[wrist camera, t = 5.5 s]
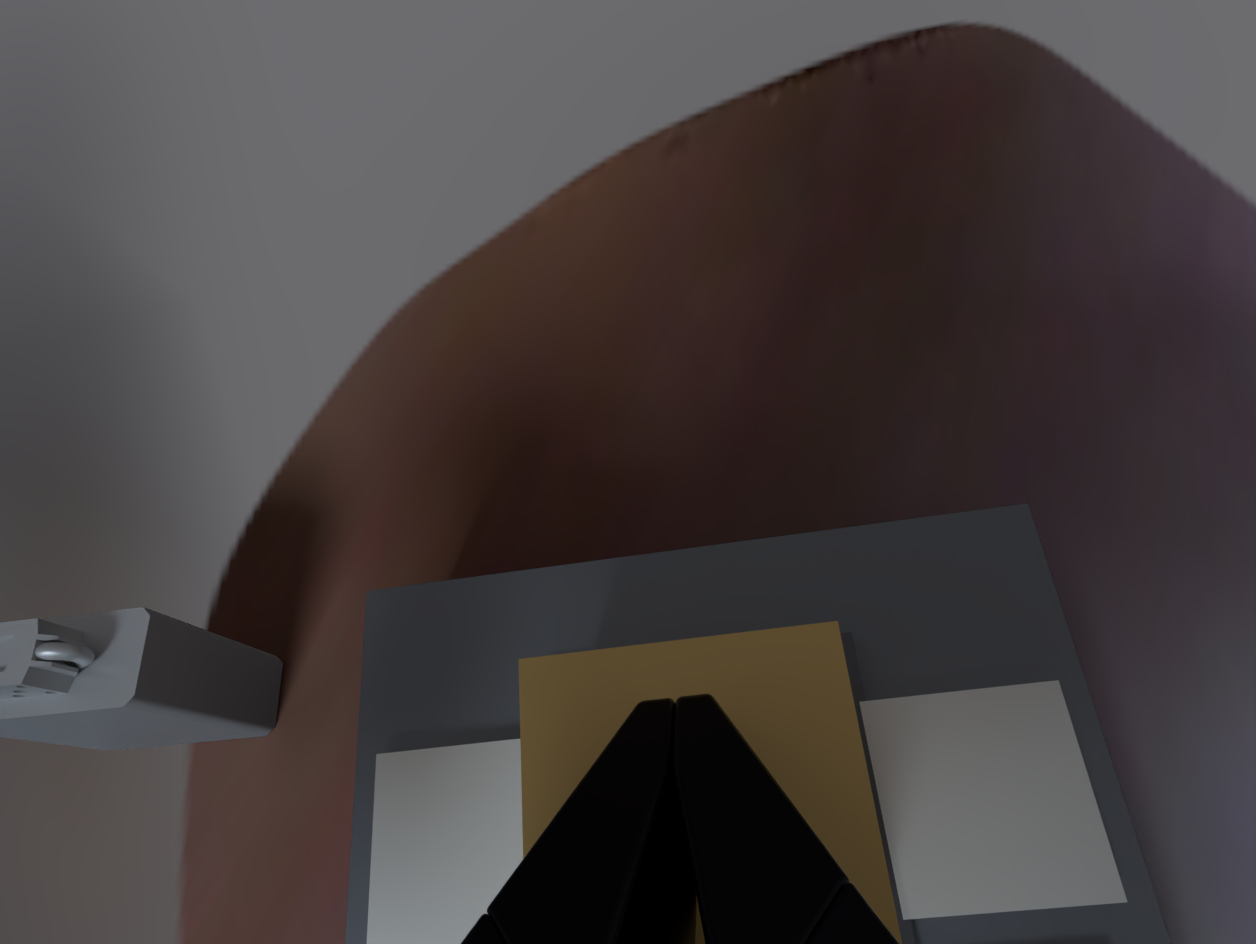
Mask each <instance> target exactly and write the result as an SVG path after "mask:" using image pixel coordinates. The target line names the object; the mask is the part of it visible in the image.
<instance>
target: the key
mask: <svg viewBox="0 0 1256 944" xmlns="http://www.w3.org/2000/svg"><path fill="white" fill-rule="evenodd" d="M698 694H710V695H712V696H713V697H714V698H715V700H716V701H717V702H718V704H719V705H720V706H721V708H722V709H723V710H724V712H725V713H726V714H727V716H728V717H729V718H730V720H731V721H732V722H733V724H734V725H735V726H736V728H737V729H738V730H739V732H740V733H741V734H742V736H743V737H744V738H745V740H746V741H747V742H748V744H749V745H750V747H751V748H752V749H753V751H754V752H755V753H756V755H757V756H758V757H759V759H760V760H761V761H762V763H763V764H764V765H765V767H766V768H767V769H768V771H769V772H770V773H771V775H772V776H773V777H774V779H775V780H776V781H777V783H778V784H779V785H780V787H781V788H782V789H783V791H784V792H785V793H786V795H787V796H788V797H789V799H790V800H791V802H792V803H793V804H794V806H795V807H796V808H797V810H798V811H799V812H800V814H801V815H802V816H803V818H804V819H805V820H806V822H807V823H808V824H809V826H810V827H811V828H812V830H813V831H814V832H815V834H816V835H817V836H818V838H819V839H820V840H821V842H822V843H823V844H824V846H825V847H826V848H827V850H828V851H829V853H830V854H831V855H832V857H833V858H834V859H835V861H836V862H837V863H838V865H839V866H840V867H841V869H842V870H843V871H844V873H845V874H846V875H847V877H848V878H849V881H850V883H852V884H853V885H855V887H856V888H857V889H858V891H859V892H860V893H861V895H862V896H863V897H864V899H865V900H866V902H867V903H868V904H869V906H870V907H871V908H872V910H873V911H874V912H875V914H876V915H877V916H878V917H879V918H880V920H881V921H882V922H883V923H884V925H885V926H886V927H887V928H888V930H889V931H890V932H891V933H892V935H893V936H894V937H895V938H896V940H897V941H898V942H899V943H900V944H902V940H901V935H900V930H899V925H898V920H897V915H896V910H895V905H894V900H893V895H892V890H891V885H890V880H889V875H888V870H887V865H886V860H885V855H884V850H883V845H882V840H881V835H880V830H879V825H878V820H877V815H876V810H875V805H874V800H873V795H872V790H871V785H870V780H869V775H868V770H867V765H866V760H865V755H864V750H863V745H862V740H861V735H860V730H859V725H858V720H857V714H856V709H855V704H854V699H853V694H852V689H851V684H850V679H849V674H848V669H847V664H846V659H845V654H844V649H843V644H842V639H841V634H840V629H839V624H838V621H832V622H823V623H815V624H807V625H798V626H790V627H782V628H773V629H765V630H756V631H748V632H740V633H731V634H723V635H715V636H706V637H698V638H690V639H681V640H673V641H665V642H656V643H648V644H640V645H631V646H623V647H615V648H606V649H598V650H590V651H581V652H573V653H565V654H556V655H548V656H540V657H531V658H523V659H519V700H520V744H521V788H522V832H523V859H524V857H525V856H526V855H527V853H528V852H529V851H530V849H531V848H532V846H533V845H534V844H535V842H536V841H537V840H538V838H539V837H540V836H541V834H542V833H543V832H544V830H545V829H546V827H547V826H548V825H549V823H550V822H551V821H552V819H553V818H554V817H555V815H556V814H557V812H558V811H559V810H560V808H561V807H562V806H563V804H564V803H565V802H566V800H567V799H568V798H569V796H570V795H571V793H572V792H573V791H574V789H575V788H576V787H577V785H578V784H579V783H580V781H581V780H582V778H583V777H584V776H585V774H586V773H587V772H588V770H589V769H590V768H591V766H592V765H593V763H594V762H595V761H596V759H597V758H598V757H599V755H600V754H601V753H602V751H603V750H604V749H605V747H606V746H607V744H608V743H609V742H610V740H611V739H612V738H613V736H614V735H615V734H616V732H617V731H618V729H619V728H620V727H621V725H622V724H623V723H624V721H625V720H626V719H627V717H628V716H629V714H630V713H631V712H632V710H633V709H634V708H635V706H636V705H637V704H638V703H639V702H641V701H645V700H654V699H663V698H671V699H673V700H674V701H675V703H676V700H677V699H678V698H679V697H681V696H689V695H698ZM696 903H697V904H696V937H695V944H705V939H704V933H703V928H702V923H701V918H700V913H699V907H698V902H697V897H696Z"/></svg>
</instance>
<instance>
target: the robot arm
mask: <svg viewBox="0 0 1256 944" xmlns="http://www.w3.org/2000/svg"><path fill="white" fill-rule="evenodd" d="M696 897H697V902H698V907H699V913H700V918H701V923H702V928H703V933H704V939H705V944H900V943H899V942H898V941H897V940H896V938H895V937H894V936H893V935H892V933H891V932H890V931H889V930H888V928H887V927H886V926H885V925H884V923H883V922H882V921H881V920H880V918H879V917H878V916H877V915H876V914H875V912H874V911H873V910H872V908H871V907H870V906H869V904H868V903H867V902H866V900H865V899H864V897H863V896H862V895H861V893H860V892H859V891H858V889H857V888H856V887H855V885H853V884H852V883H850V881H849V878H848V877H847V875H846V874H845V873H844V871H843V870H842V869H841V867H840V866H839V865H838V863H837V862H836V861H835V859H834V858H833V857H832V855H831V854H830V853H829V851H828V850H827V848H826V847H825V846H824V844H823V843H822V842H821V840H820V839H819V838H818V836H817V835H816V834H815V832H814V831H813V830H812V828H811V827H810V826H809V824H808V823H807V822H806V820H805V819H804V818H803V816H802V815H801V814H800V812H799V811H798V810H797V808H796V807H795V806H794V804H793V803H792V802H791V800H790V799H789V797H788V796H787V795H786V793H785V792H784V791H783V789H782V788H781V787H780V785H779V784H778V783H777V781H776V780H775V779H774V777H773V776H772V775H771V773H770V772H769V771H768V769H767V768H766V767H765V765H764V764H763V763H762V761H761V760H760V759H759V757H758V756H757V755H756V753H755V752H754V751H753V749H752V748H751V747H750V745H749V744H748V742H747V741H746V740H745V738H744V737H743V736H742V734H741V733H740V732H739V730H738V729H737V728H736V726H735V725H734V724H733V722H732V721H731V720H730V718H729V717H728V716H727V714H726V713H725V712H724V710H723V709H722V708H721V706H720V705H719V704H718V702H717V701H716V700H715V698H714V697H713V696H712V695H710V694H698V695H689V696H681V697H679V698H678V699H677V700H676V703H675V701H674V700H673V699H671V698H663V699H654V700H645V701H641V702H639V703H638V704H637V705H636V706H635V708H634V709H633V710H632V712H631V713H630V714H629V716H628V717H627V719H626V720H625V721H624V723H623V724H622V725H621V727H620V728H619V729H618V731H617V732H616V734H615V735H614V736H613V738H612V739H611V740H610V742H609V743H608V744H607V746H606V747H605V749H604V750H603V751H602V753H601V754H600V755H599V757H598V758H597V759H596V761H595V762H594V763H593V765H592V766H591V768H590V769H589V770H588V772H587V773H586V774H585V776H584V777H583V778H582V780H581V781H580V783H579V784H578V785H577V787H576V788H575V789H574V791H573V792H572V793H571V795H570V796H569V798H568V799H567V800H566V802H565V803H564V804H563V806H562V807H561V808H560V810H559V811H558V812H557V814H556V815H555V817H554V818H553V819H552V821H551V822H550V823H549V825H548V826H547V827H546V829H545V830H544V832H543V833H542V834H541V836H540V837H539V838H538V840H537V841H536V842H535V844H534V845H533V846H532V848H531V849H530V851H529V852H528V853H527V855H526V856H525V857H524V859H523V860H522V861H521V863H520V864H519V866H518V867H517V868H516V870H515V871H514V872H513V874H512V875H511V876H510V878H509V879H508V881H507V882H506V883H505V885H504V886H503V887H502V889H501V890H500V891H499V893H498V894H497V895H496V897H495V898H494V900H493V901H492V902H491V904H490V905H489V906H488V908H487V914H483V915H482V916H481V917H480V918H479V919H478V921H477V922H476V924H475V925H474V926H473V928H472V929H471V930H470V932H469V933H468V934H467V936H466V937H465V938H464V940H463V941H462V943H461V944H695V937H696V904H697V903H696Z"/></svg>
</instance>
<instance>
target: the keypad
mask: <svg viewBox="0 0 1256 944" xmlns="http://www.w3.org/2000/svg"><path fill="white" fill-rule="evenodd" d="M832 621H838V624H839V629H840V634H841V639H842V644H843V649H844V654H845V659H846V664H847V669H848V674H849V679H850V684H851V689H852V694H853V699H854V704H855V709H856V714H857V720H858V725H859V730H860V735H861V740H862V745H863V750H864V755H865V760H866V765H867V770H868V775H869V780H870V785H871V790H872V795H873V800H874V805H875V810H876V815H877V820H878V825H879V830H880V835H881V840H882V845H883V850H884V855H885V860H886V865H887V870H888V875H889V880H890V885H891V890H892V895H893V900H894V905H895V910H896V915H897V920H898V925H899V930H900V935H901V940H902V944H1172V943H1171V940H1170V937H1169V934H1168V931H1167V928H1166V925H1165V922H1164V919H1163V916H1162V912H1161V909H1160V906H1159V903H1158V900H1157V897H1156V894H1155V891H1154V888H1153V885H1152V882H1151V879H1150V876H1149V873H1148V870H1147V866H1146V863H1145V860H1144V857H1143V854H1142V851H1141V848H1140V845H1139V842H1138V839H1137V836H1136V833H1135V830H1134V827H1133V823H1132V820H1131V817H1130V814H1129V811H1128V808H1127V805H1126V802H1125V799H1124V796H1123V793H1122V790H1121V787H1120V784H1119V780H1118V777H1117V774H1116V771H1115V768H1114V765H1113V762H1112V759H1111V756H1110V753H1109V750H1108V747H1107V744H1106V741H1105V738H1104V734H1103V731H1102V728H1101V725H1100V722H1099V719H1098V716H1097V713H1096V710H1095V707H1094V704H1093V701H1092V698H1091V695H1090V691H1089V688H1088V685H1087V682H1086V679H1085V676H1084V673H1083V670H1082V667H1081V664H1080V661H1079V658H1078V655H1077V652H1076V649H1075V645H1074V642H1073V639H1072V636H1071V633H1070V630H1069V627H1068V624H1067V621H1066V618H1065V615H1064V612H1063V609H1062V606H1061V602H1060V599H1059V596H1058V593H1057V590H1056V587H1055V584H1054V581H1053V578H1052V575H1051V572H1050V569H1049V566H1048V563H1047V559H1046V556H1045V553H1044V550H1043V547H1042V544H1041V541H1040V538H1039V535H1038V532H1037V529H1036V526H1035V523H1034V520H1033V517H1032V513H1031V510H1030V507H1029V504H1028V503H1026V504H1018V505H1011V506H1003V507H996V508H988V509H981V510H973V511H966V512H958V513H950V514H943V515H935V516H928V517H920V518H913V519H905V520H898V521H890V522H883V523H875V524H868V525H860V526H852V527H845V528H837V529H830V530H822V531H815V532H807V533H800V534H792V535H785V536H777V537H770V538H762V539H754V540H747V541H739V542H732V543H724V544H717V545H709V546H702V547H694V548H687V549H679V550H672V551H664V552H656V553H649V554H641V555H634V556H626V557H619V558H611V559H604V560H596V561H589V562H581V563H574V564H566V565H558V566H551V567H543V568H536V569H528V570H521V571H513V572H506V573H498V574H491V575H483V576H476V577H468V578H460V579H453V580H445V581H438V582H430V583H423V584H415V585H408V586H400V587H393V588H385V589H378V590H370V591H367V597H366V613H365V630H364V646H363V662H362V678H361V695H360V711H359V727H358V743H357V760H356V776H355V792H354V808H353V825H352V841H351V857H350V873H349V890H348V906H347V922H346V938H345V944H461V943H462V941H463V940H464V938H465V937H466V936H467V934H468V933H469V932H470V930H471V929H472V928H473V926H474V925H475V924H476V922H477V921H478V919H479V918H480V917H481V916H482V915H483V914H487V908H488V906H489V905H490V904H491V902H492V901H493V900H494V898H495V897H496V895H497V894H498V893H499V891H500V890H501V889H502V887H503V886H504V885H505V883H506V882H507V881H508V879H509V878H510V876H511V875H512V874H513V872H514V871H515V870H516V868H517V867H518V866H519V864H520V863H521V861H522V860H523V832H522V788H521V744H520V700H519V659H523V658H531V657H540V656H548V655H556V654H565V653H573V652H581V651H590V650H598V649H606V648H615V647H623V646H631V645H640V644H648V643H656V642H665V641H673V640H681V639H690V638H698V637H706V636H715V635H723V634H731V633H740V632H748V631H756V630H765V629H773V628H782V627H790V626H798V625H807V624H815V623H823V622H832Z"/></svg>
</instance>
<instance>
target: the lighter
mask: <svg viewBox="0 0 1256 944" xmlns="http://www.w3.org/2000/svg"><path fill="white" fill-rule="evenodd" d="M282 668H283V662H282V661H281V660H280V659H279V658H278V657H277V656H275V655H272V654H270V653H267V652H264V651H261V650H259V649H256V648H253V647H251V646H248V645H245V644H242V643H240V642H237V641H234V640H231V639H229V638H226V637H223V636H221V635H218V634H215V633H212V632H210V631H207V630H204V629H201V628H199V627H196V626H193V625H191V624H188V623H185V622H182V621H180V620H176V619H174V618H171V617H169V616H166V615H163V614H160V613H158V612H155V611H152V610H150V609H147V608H144V607H140V608H131V609H123V610H114V611H106V612H97V613H89V614H80V615H72V616H64V617H54V618H47V619H38V618H37V619H29V620H20V621H11V622H3V623H0V737H8V738H16V739H24V740H31V741H39V742H46V743H54V744H62V745H69V746H77V747H86V748H92V749H100V750H108V751H111V750H122V749H131V748H143V747H153V746H164V745H175V744H185V743H196V742H207V741H217V740H228V739H239V738H249V737H260V736H267V735H268V734H269V733H270V732H271V731H272V730H273V729H274V728H275V726H276V717H277V709H278V701H279V693H280V684H281V676H282Z"/></svg>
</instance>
